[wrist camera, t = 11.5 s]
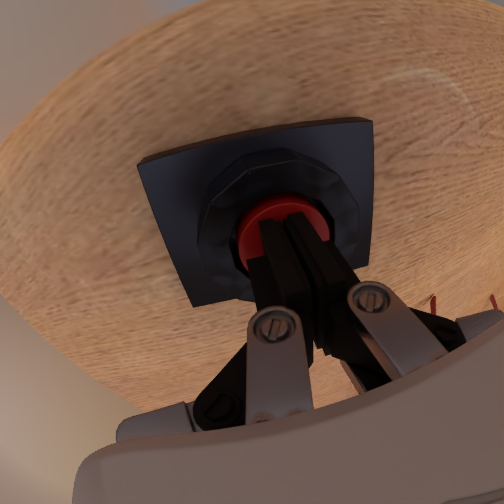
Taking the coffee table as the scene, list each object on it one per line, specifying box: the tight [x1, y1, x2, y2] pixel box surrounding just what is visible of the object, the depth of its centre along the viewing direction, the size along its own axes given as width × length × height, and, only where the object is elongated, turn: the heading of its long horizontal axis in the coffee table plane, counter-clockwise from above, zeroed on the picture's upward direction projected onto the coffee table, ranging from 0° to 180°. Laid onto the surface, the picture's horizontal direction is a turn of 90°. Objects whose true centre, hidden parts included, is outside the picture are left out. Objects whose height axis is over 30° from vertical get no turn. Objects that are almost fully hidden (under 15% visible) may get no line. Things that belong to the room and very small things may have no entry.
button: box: [235, 192, 330, 270], centre depth 11 cm, size 4×4×2 cm
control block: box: [137, 117, 374, 307], centre depth 12 cm, size 10×8×3 cm
